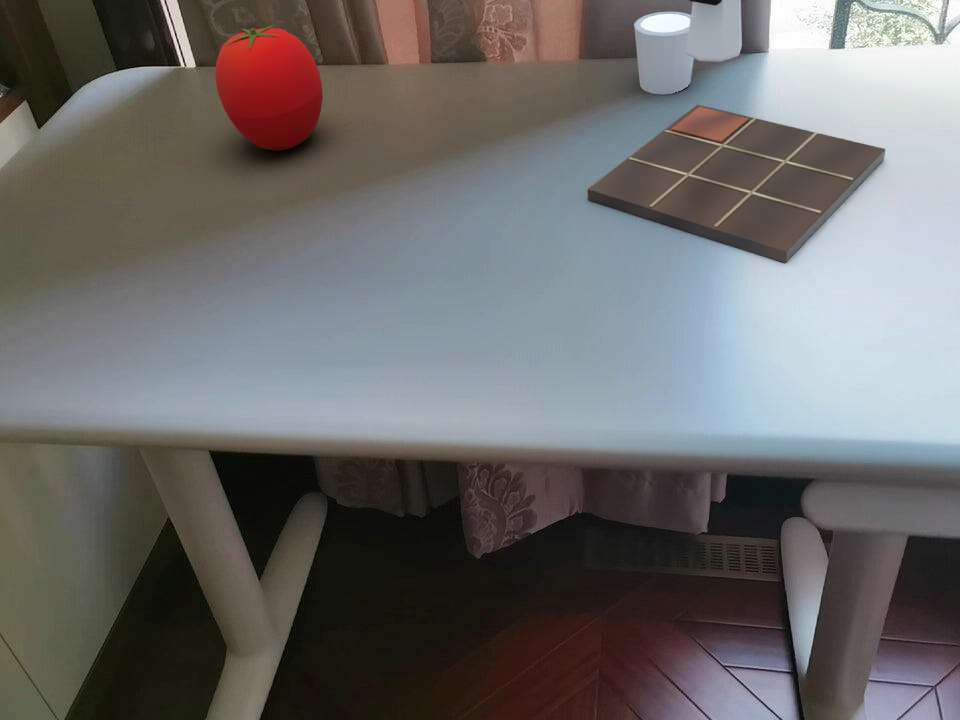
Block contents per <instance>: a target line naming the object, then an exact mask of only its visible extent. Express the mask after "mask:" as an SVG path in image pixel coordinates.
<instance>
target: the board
mask: <svg viewBox="0 0 960 720" xmlns="http://www.w3.org/2000/svg"><path fill="white" fill-rule="evenodd" d="M885 156H886V148H883V147H880V146H874V145H870V144H867V143H862V142H858V141H855V140H854V141H853V140H849V139H846V138H841V137H836V136H832V135H828V134H824V133H819V132H815V131H812V130H807V129H802V128H800V127H799V128H798V127H794V126H790V125H785V124H781V123H777V122H772V121H769V120H764V119H761V118H755V117H752V116H746V115H743V114H739V113H735V112H730V111H727V110H722V109H718V108H714V107H710V106H705V105H701V104H696V105H695V106H693V107H692V108H690V110H688V111H687V112H685V113H684V114H683V115H682V116H681V117H679V118H678V119H676V120H675V121H674V122H672V123H671V124H670V125H669V126H668V127H666V128H665V129H664V130H662V131H661V132H660V133H659V134H657V135H655V136H654V137H653V138H651V140H649V141H648V142H646V144H644V145H643V146H642V147H640V148H639V149H638V150H636V151H635V152H634V153H633V154H631V155H630V156H629V157H628V158H626V159H625V160H623V161H622V162H621V163H619V164H618V165H616V166H615V168H613V169H611V170H610V171H609V172H607V174H605V175H603V176H602V177H601V178H600V179H599V180H598V181H596V182H594V184H592V185H591V186H589V187H588V188H587V200H588V201H590V202H592V203H593V202H594V203H596V204H600V205H602V206H606V207H609V208H612V209H614V210H615V209H616V210H618V211H621V212H625V213H628V214H631V215H633V216H637V217H640V218H643V219H647V220H650V221H652V222H656V223H659V224H661V225H665V226H669V227H672V228H675V229H677V230H681V231H683V232H687V233H690V234H694V235H696V236H699V237H703V238H705V239H709V240H712V241H715V242H719V243H721V244H726V245H728V246H731V247H734V248H736V249H737V248H738V249H741V250H743V251H747V252H750V253H753V254H756V255H759V256H762V257H766V258H769V259H771V260H775V261H778V262H781V263H784V264H786V263H787V262H788V261H789V260H790V259H791V258H792V257H793V256H794V255H795V253H797V251H798V250H799V249H801V248H802V246H804V244H805V243H806V242H807V241H808V240H809V239H810V238H811V237H812V236H813V235H814V234H815V233H816V232H817V230H819V228H820V227H822V225H824V223H825V222H826V221H827V220H828V219H829V218H830V217H831V216H832V215H833V214H834V213H835V212H836V211H837V210H838V208H840V207H841V206H842V204H844V202H846V200H848V198H849V197H850V196H851V195H852V194H853V192H855V191H856V190H857V189H858V188H859V186H861V184H863V182H864V181H866V180H867V178H868V177H869V176H870V175H871V174H872V173H873V172H874V171H875V170H876V169H877V168H878V167H879V166H880V165H881V163H883V161H884V160H885Z"/></svg>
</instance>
